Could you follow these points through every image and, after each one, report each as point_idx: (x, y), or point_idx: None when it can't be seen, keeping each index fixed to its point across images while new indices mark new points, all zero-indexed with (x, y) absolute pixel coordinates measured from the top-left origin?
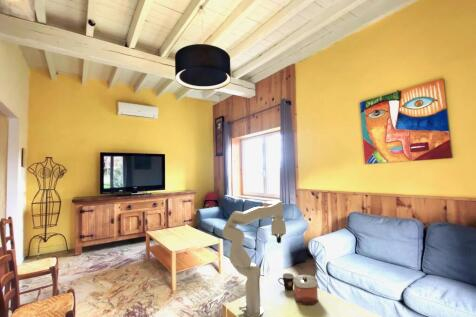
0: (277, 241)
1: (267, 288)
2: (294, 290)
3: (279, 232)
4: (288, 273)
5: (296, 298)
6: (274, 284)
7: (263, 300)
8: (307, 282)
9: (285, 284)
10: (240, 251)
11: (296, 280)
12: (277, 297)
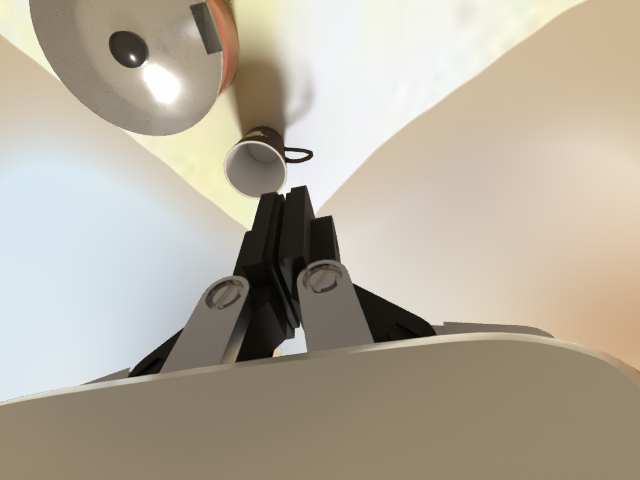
0: (327, 217)
1: (364, 149)
2: (227, 38)
3: (210, 441)
4: (253, 197)
5: (224, 9)
6: (327, 183)
7: (405, 27)
8: (108, 6)
9: (277, 140)
10: None
11: (195, 55)
12: (327, 59)
